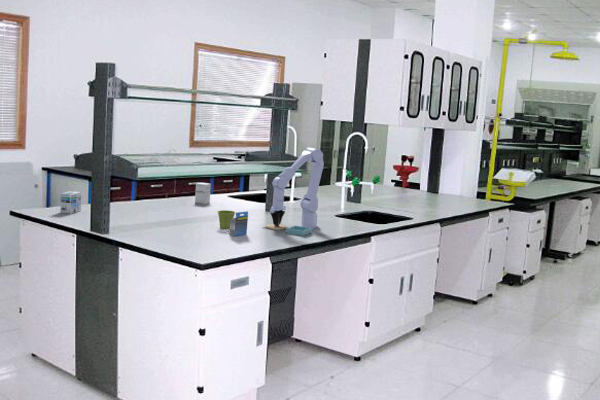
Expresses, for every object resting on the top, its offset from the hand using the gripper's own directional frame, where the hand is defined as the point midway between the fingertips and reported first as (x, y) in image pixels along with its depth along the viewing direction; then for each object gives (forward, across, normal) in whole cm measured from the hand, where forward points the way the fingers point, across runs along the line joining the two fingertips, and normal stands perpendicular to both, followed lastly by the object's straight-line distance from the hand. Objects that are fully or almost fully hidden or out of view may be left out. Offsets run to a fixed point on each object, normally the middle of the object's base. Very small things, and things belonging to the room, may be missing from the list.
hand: (276, 224), depth 351 cm
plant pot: (+3, +18, -21) cm, 28 cm away
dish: (+2, +3, +15) cm, 15 cm away
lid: (+2, 0, 0) cm, 2 cm away
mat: (+2, 0, 0) cm, 2 cm away
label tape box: (+3, +28, -7) cm, 29 cm away
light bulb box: (+3, +43, -106) cm, 114 cm away
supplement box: (+3, -37, -74) cm, 83 cm away
